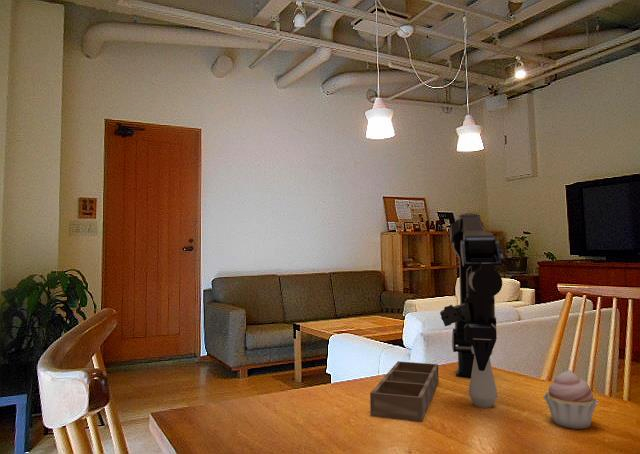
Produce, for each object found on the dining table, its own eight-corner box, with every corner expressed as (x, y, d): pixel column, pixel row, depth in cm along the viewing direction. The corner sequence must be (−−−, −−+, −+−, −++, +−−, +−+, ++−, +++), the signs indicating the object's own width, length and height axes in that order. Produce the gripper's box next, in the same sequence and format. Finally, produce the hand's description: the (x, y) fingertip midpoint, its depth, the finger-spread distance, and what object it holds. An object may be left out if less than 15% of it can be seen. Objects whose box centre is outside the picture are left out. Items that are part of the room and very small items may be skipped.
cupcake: (607, 424, 90) (605, 370, 90) (588, 437, 83) (586, 379, 84) (556, 411, 97) (554, 362, 97) (535, 422, 90) (534, 369, 91)
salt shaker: (492, 411, 97) (490, 347, 98) (465, 405, 101) (463, 344, 101) (501, 403, 102) (499, 342, 102) (474, 398, 105) (473, 339, 106)
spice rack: (398, 378, 122) (397, 361, 122) (438, 382, 119) (438, 364, 119) (370, 415, 95) (370, 393, 95) (421, 421, 91) (421, 398, 92)
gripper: (446, 288, 114) (447, 353, 113) (437, 295, 97) (439, 373, 96) (495, 289, 110) (497, 357, 109) (495, 297, 93) (497, 377, 92)
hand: (482, 365), depth 102 cm, fingers open, 9 cm apart
